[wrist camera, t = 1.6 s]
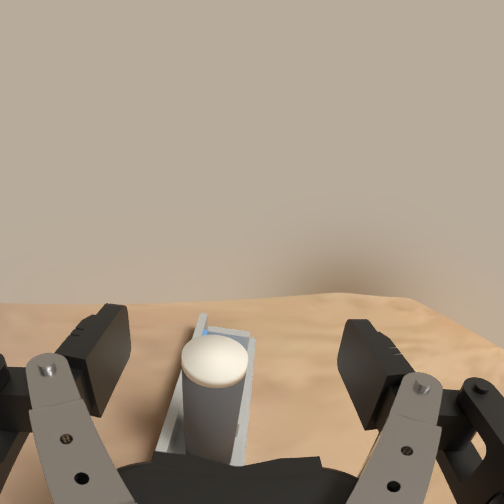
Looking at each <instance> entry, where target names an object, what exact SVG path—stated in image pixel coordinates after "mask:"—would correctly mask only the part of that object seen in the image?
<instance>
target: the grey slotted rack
mask: <svg viewBox="0 0 504 504" xmlns="http://www.w3.org/2000/svg"><path fill="white" fill-rule="evenodd" d="M207 322H208V314H205V313H201V314H200V317H199V320H198V322H197V325H196V328H195V331H194V334H193V337H192V339H194V338H196V337H199V336H203V335H221V336H225V337H229V338H231V339H233V340H235V341H237V342H238V343H240V344H241V345H242V346H243V347H244V348H245V350H246V351H247V354H248V365H247V371H246V377H245V383H244V389H243V395H242V401H241V407H240V413H239V418H238V424H237V430H236V436H235V441H234V447H233V453H232V458H231V463H230V465H232V466H244V463H245V452H246V442H247V431H248V421H249V410H250V399H251V388H252V377H253V366H254V354H255V343H256V338H252V337H250V332H249V331H241V330H234V329H228V328H221V327H214V326H209V327H208V330H207ZM155 451H160V452H167V453H175V454H184V455H186V447H185V432H184V415H183V393H182V369H181V372H180V375H179V378H178V382H177V385H176V388H175V391H174V394H173V397H172V400H171V403H170V406H169V409H168V412H167V415H166V418H165V421H164V425H163V428H162V431H161V434H160V437H159V440H158V444H157V447H156V450H155Z"/></svg>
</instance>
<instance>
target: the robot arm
mask: <svg viewBox="0 0 504 504" xmlns="http://www.w3.org/2000/svg"><path fill="white" fill-rule="evenodd" d="M130 352H131V339H130V330H129V320H128V311H127V307H126V306H125V305H116V304H108V303H106V304H105V305H104V306H103V307H102V308H101V310H100V311H99V312H98V313H97V314H96V315H91V316H89V317H87V318H85V319H83V320H82V321H81V322H80V323H79V324H78V325H77V327H76V329H74V330H73V331H72V332H71V334H70V335H69V336H68V337H67V338H66V340H65V341H64V342H63V343H62V344H61V346H60V347H59V348H58V349H57V350H56V352H55V353H45V354H40V355H38V356H35V357H34V358H32V359H31V360H30V361H29V362H28V363H27V365H26V367H7V364H6V362H5V359H4V357H3V355H2V354H0V493H1V491H2V489H3V486H4V484H5V482H6V480H7V478H8V475H9V473H10V471H11V469H12V467H13V465H14V463H15V461H16V458H17V456H18V454H19V452H20V450H21V448H22V446H23V444H24V442H25V440H26V438H27V437H28V435H29V433H30V432H33V435H34V439H35V443H36V447H37V451H38V455H39V458H40V462H41V465H42V469H43V472H44V475H45V479H46V482H47V485H48V488H49V491H50V493H51V496H52V499H53V502H54V504H423V502H424V499H425V496H426V492H427V489H428V486H429V482H430V479H431V475H432V471H433V467H434V463H435V459H436V460H437V462H438V464H439V466H440V468H441V470H442V472H443V474H444V476H445V479H446V481H447V483H448V485H449V487H450V489H451V491H452V494H453V496H454V498H455V500H456V502H457V504H504V397H503V396H502V395H501V394H500V392H499V391H498V390H497V389H496V388H495V387H494V386H493V385H492V384H491V383H490V382H488V381H486V380H484V379H481V378H476V377H472V378H468V379H466V380H465V381H464V383H463V385H462V387H461V389H460V390H448V389H443V388H442V385H441V383H440V382H439V381H438V380H437V379H436V378H434V377H433V376H431V375H428V374H425V373H420V372H415V371H414V370H413V368H412V367H411V366H410V364H409V363H408V362H407V360H406V359H405V358H404V356H403V355H402V354H400V353H401V352H400V351H399V350H398V349H397V348H396V346H395V345H394V343H393V342H392V341H391V340H390V338H388V337H387V336H385V335H384V334H382V333H381V332H377V331H376V329H375V328H374V327H373V325H372V324H371V323H370V321H369V320H367V319H349V320H347V322H346V324H345V328H344V332H343V336H342V340H341V344H340V348H339V352H338V358H337V365H338V370H339V373H340V375H341V377H342V379H343V382H344V384H345V386H346V388H347V391H348V393H349V395H350V398H351V400H352V402H353V404H354V407H355V409H356V411H357V414H358V416H359V418H360V420H361V423H362V425H363V427H364V430H365V431H366V430H373V429H378V431H379V434H378V436H377V438H376V440H375V442H374V444H373V446H372V448H371V450H370V452H369V454H368V456H367V458H366V460H365V462H364V464H363V466H362V468H361V470H360V472H359V474H358V476H357V477H355V476H353V475H350V474H348V473H345V472H342V471H339V470H335V469H330V468H324V467H322V464H321V461H320V457H319V456H318V457H303V458H280V459H276V460H271V461H266V462H261V463H256V464H251V465H245V466H232V465H228V464H224V463H220V462H216V461H212V460H208V459H205V458H201V457H198V456H194V455H184V454H175V453H167V452H160V451H154V453H153V457H152V461H151V462H141V463H135V464H130V465H126V466H123V467H120V468H118V469H116V468H115V466H114V464H113V462H112V460H111V458H110V457H109V455H108V453H107V451H106V449H105V447H104V445H103V443H102V441H101V439H100V436H99V434H98V432H97V430H96V428H95V426H94V423H93V421H92V419H91V417H90V416H95V417H99V418H101V417H102V414H103V412H104V410H105V408H106V406H107V403H108V401H109V399H110V397H111V395H112V393H113V391H114V388H115V386H116V384H117V382H118V380H119V378H120V376H121V374H122V372H123V370H124V368H125V366H126V363H127V361H128V359H129V357H130ZM476 432H478V433H479V435H480V436H481V438H482V439H483V441H484V443H485V445H486V456H485V458H484V459H483V460H482V459H481V457H480V455H479V454H478V452H477V450H476V449H475V447H474V445H473V444H472V442H471V440H472V438H473V437H474V435H475V434H476Z"/></svg>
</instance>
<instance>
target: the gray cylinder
mask: <svg viewBox="0 0 504 504" xmlns="http://www.w3.org/2000/svg"><path fill="white" fill-rule="evenodd" d="M181 359H182V393H183V415H184V432H185V447H186V455H194V456H198V457H201V458H205V459H208V460H212V461H216V462H220V463H224V464H228V465H230V463H231V458H232V453H233V447H234V441H235V436H236V430H237V424H238V418H239V413H240V407H241V401H242V395H243V389H244V383H245V377H246V371H247V365H248V354H247V351H246V350H245V348H244V347H243V346H242V345H241V344H240V343H238V342H237V341H235V340H233V339H231V338H229V337H225V336H221V335H203V336H199V337H196V338H194V339H192V340H190V341H189V342H188V343H187V344H186V345H185V346H184V348H183V350H182V355H181Z"/></svg>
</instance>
